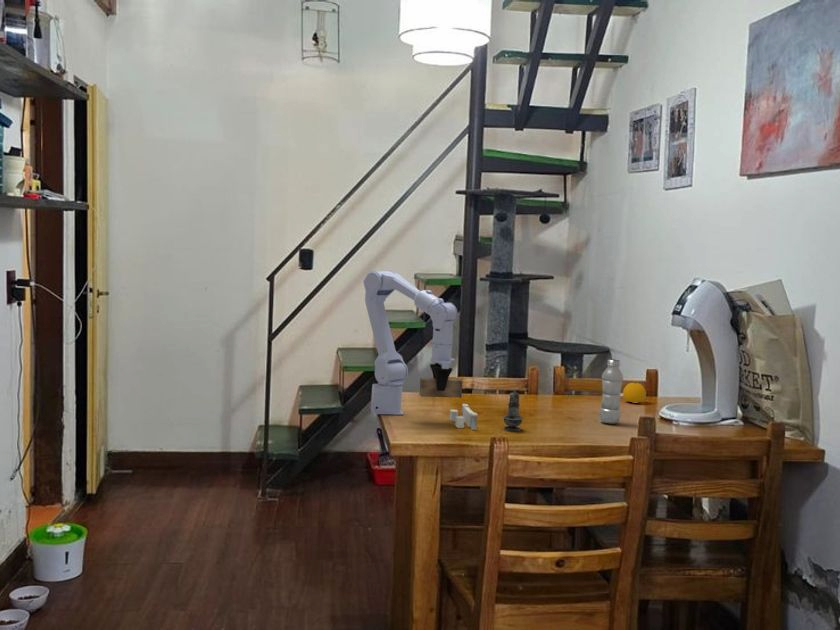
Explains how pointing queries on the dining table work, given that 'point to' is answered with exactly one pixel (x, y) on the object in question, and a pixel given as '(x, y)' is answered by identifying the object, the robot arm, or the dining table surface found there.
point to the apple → (634, 392)
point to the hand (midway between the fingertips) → (439, 389)
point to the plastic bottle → (611, 393)
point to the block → (430, 390)
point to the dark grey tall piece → (513, 413)
